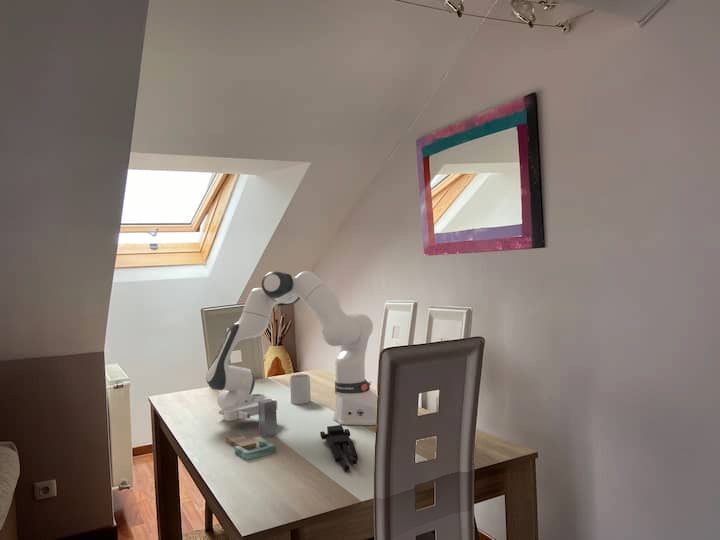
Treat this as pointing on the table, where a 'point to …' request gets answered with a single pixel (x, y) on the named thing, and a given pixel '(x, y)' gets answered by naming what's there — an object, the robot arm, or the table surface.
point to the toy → (340, 445)
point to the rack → (250, 447)
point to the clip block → (267, 418)
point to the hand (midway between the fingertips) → (260, 413)
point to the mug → (300, 389)
